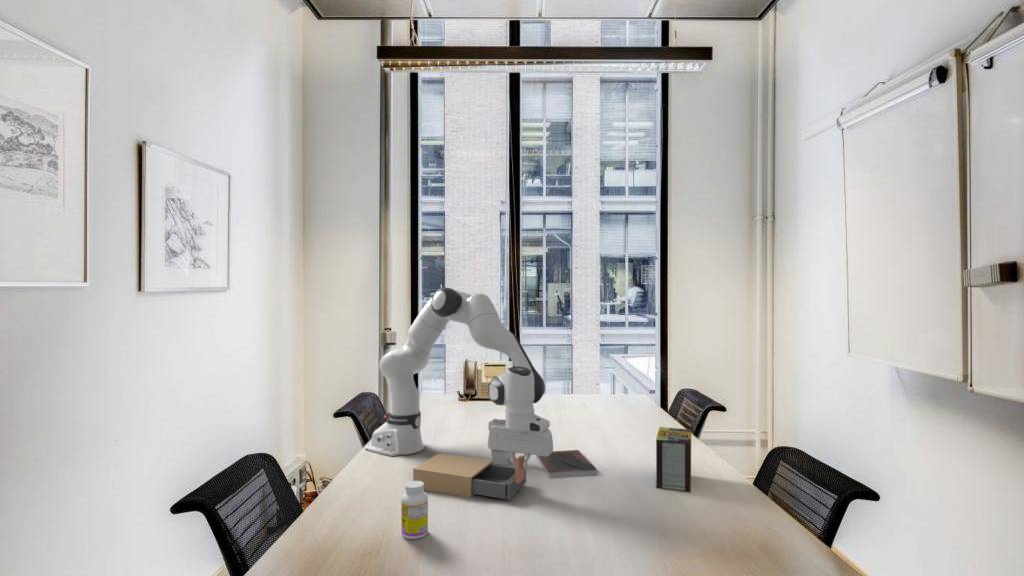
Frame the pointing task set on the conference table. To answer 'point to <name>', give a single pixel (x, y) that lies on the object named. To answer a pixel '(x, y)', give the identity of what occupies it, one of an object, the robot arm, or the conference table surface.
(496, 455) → the syrup box
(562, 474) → the picture frame
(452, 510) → the conference table surface
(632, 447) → the conference table surface
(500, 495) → the tray
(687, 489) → the protein box
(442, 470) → the sleeve
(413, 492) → the supplement bottle
